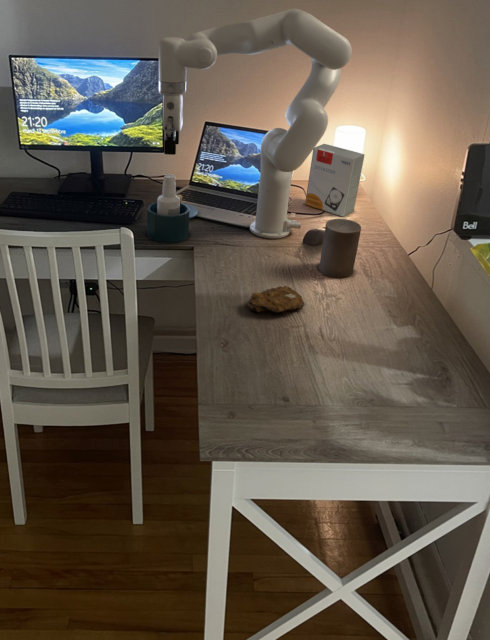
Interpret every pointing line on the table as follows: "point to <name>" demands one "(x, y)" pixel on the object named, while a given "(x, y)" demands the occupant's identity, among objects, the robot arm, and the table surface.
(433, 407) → the table surface
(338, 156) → the hard drive box
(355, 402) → the table surface
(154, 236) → the tin
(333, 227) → the pillar candle
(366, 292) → the table surface
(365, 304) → the table surface
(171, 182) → the spray bottle
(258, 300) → the decorative rock
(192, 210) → the tin lid
